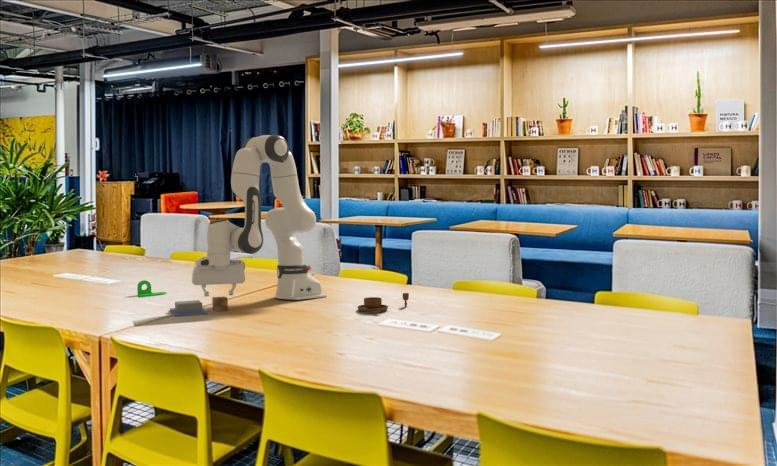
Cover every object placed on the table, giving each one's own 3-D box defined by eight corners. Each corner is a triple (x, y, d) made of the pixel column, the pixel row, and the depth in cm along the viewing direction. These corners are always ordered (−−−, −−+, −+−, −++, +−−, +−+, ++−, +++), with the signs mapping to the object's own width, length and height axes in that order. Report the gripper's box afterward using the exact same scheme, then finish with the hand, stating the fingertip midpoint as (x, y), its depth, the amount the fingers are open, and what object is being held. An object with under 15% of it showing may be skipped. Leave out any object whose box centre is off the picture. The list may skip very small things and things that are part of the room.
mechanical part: (140, 299, 293) (140, 281, 293) (137, 298, 298) (137, 280, 298) (168, 297, 300) (168, 280, 300) (164, 296, 305) (164, 278, 305)
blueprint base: (201, 308, 267) (201, 298, 267) (207, 314, 252) (207, 304, 252) (170, 310, 262) (169, 300, 262) (174, 316, 247) (174, 306, 247)
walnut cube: (225, 308, 265) (225, 296, 265) (227, 310, 261) (227, 298, 261) (212, 309, 263) (212, 297, 263) (214, 311, 259) (214, 298, 259)
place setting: (360, 307, 270) (360, 292, 270) (409, 307, 269) (409, 292, 268) (355, 314, 252) (355, 298, 252) (407, 314, 251) (407, 298, 251)
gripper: (243, 259, 268) (243, 293, 268) (191, 260, 260) (191, 295, 260) (247, 260, 262) (247, 295, 263) (193, 261, 254) (193, 297, 254)
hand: (218, 295), depth 261 cm, fingers open, 8 cm apart
